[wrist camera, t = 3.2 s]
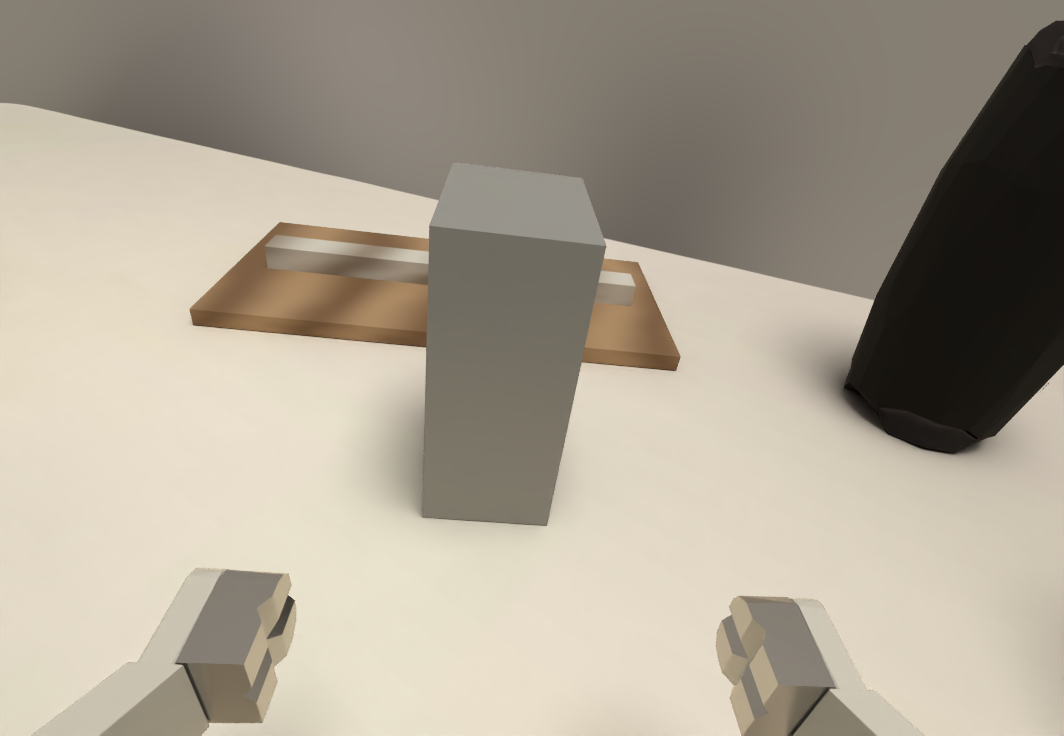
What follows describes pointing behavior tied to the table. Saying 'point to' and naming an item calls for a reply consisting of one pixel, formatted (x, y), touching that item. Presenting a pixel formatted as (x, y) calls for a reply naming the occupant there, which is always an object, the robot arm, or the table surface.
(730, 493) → the table surface
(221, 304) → the rail
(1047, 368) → the portable speaker
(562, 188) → the block
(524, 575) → the table surface
